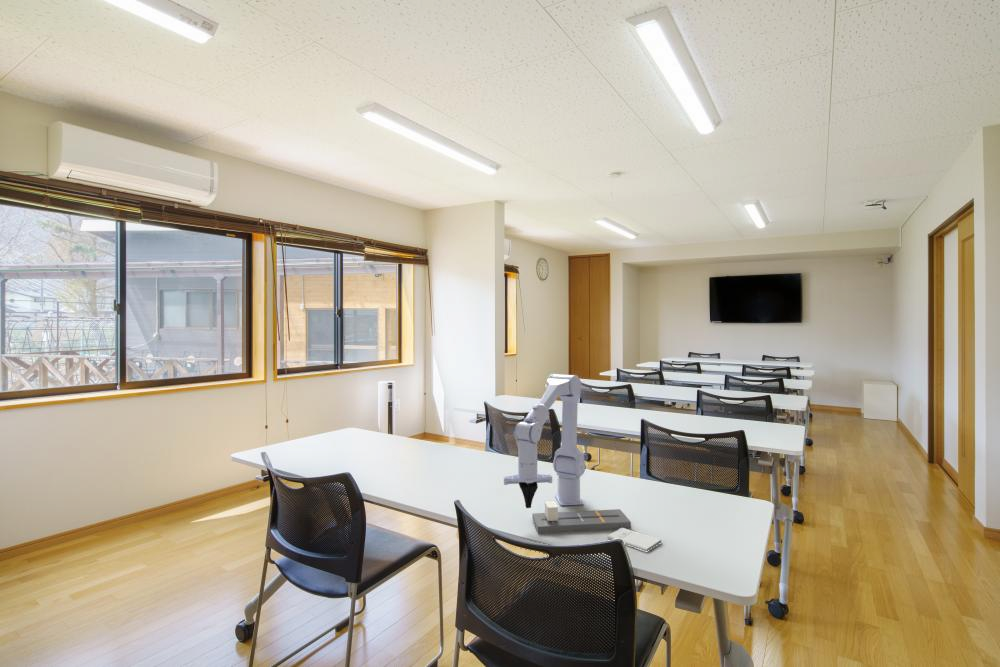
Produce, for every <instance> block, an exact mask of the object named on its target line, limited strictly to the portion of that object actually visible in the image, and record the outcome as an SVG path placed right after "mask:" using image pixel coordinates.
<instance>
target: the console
mask: <svg viewBox="0 0 1000 667" xmlns="http://www.w3.org/2000/svg"><path fill="white" fill-rule="evenodd" d="M532 519H533V520H532ZM532 519H531V520H532V522H533V521H534V522H533V525H534V524H535V525H534V527H535V529H537V530H536V532H538V533H537V534H549V533H548V532H556V533H569V532H568V531H574V532H590V531H591V530H592V531H607V530H606V529H612V530H619V528H631V527H632V522H631V520H630V519H629V518H628V517H627V516H626V515H625V512H623V511H622V510H621V509H620V508H617V509H598V510H597V509H596V510H594V509H593V510H580V511H579V510H578V511H577V510H576V511H575V510H574V511H573V510H572V511H562V512H561V511H560V512H559V511H558V521H548V520H547V518H546V516H545V512H538V513H537V512H535V513H532ZM631 529H632V528H631ZM546 532H547V533H546Z"/></svg>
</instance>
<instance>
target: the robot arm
mask: <svg viewBox="0 0 1000 667" xmlns="http://www.w3.org/2000/svg"><path fill="white" fill-rule="evenodd" d="M581 390H582V381H581V379H580V378H579V376H578V375H577V374H561V373H551V374H550V375H549V376H548V377H547V379H546V389H545V391H544V393H543V395H542V397H541V398H540V401H539V403H535V404H533V405H532V408H531V409H530V411H529V412H528V414H527V415H525V418H524V420H523V421H520V422H518V423H517V424H516V425H515V428H514V431H513V436H514V439H515V443H516V447H517V449H518V450H517V452H518V453H517V455H518V456H517V457H518V459H517V460H518V464H517V466H518V468H517V469H518V474H515V475H508V476H503V485H504V486H507V485H515V484H517V485H519V488H520V490H521V492H522V496H523V499H524V503H525V507H526V509H531V508H532V503H533V499H534V496H535V495H536V492H537V490H538V487H539V486H538V484H539V483H541V484H542V483H544V484H546V483H548V484H553V475H552V474H543V473H542V474H540V473H539V474H538V443H539V440H540V439H541V437H542V432H543V429H544V428H543V426H544V424H545V423H546V422H547V420H548V418H549V416H550V411H549V410H550V408H552V406H553V404H554V403H555V402H556V400H557V399H558V398H559V399H560V400H561V402H562V408H561V413H562V414H561V415H562V416H561V447H559V448H557V450H556V451H555V452H554V458H553V461H552V467H553V470H554V472H555V473H556V476H558V477H557V494H555V495H554V497H555V498H556V501H557V502H558V504H559V506H579V505H582V506H583V505H584V504H585V503H584V502H583V500H582V499H581V477H582V476H583V475H584V473H585V471H586V462H585V453H584V452H582V451H581V449H580V448H579V447H578V446H577V445H578V444H577V438H578V408H579V407H578V406H579V405H578V403H579V402H578V401H579V399H581V396H582V395H581V394H582V393H581V392H582V391H581Z"/></svg>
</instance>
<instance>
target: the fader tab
mask: <svg viewBox="0 0 1000 667" xmlns="http://www.w3.org/2000/svg"><path fill="white" fill-rule="evenodd" d="M558 512H559V507H558V505H557V503H556V502H555V501H554V500H553V501H544V513H545V516H546V518H547V520H548V521H558Z"/></svg>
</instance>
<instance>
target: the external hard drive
mask: <svg viewBox="0 0 1000 667" xmlns="http://www.w3.org/2000/svg"><path fill="white" fill-rule="evenodd" d="M606 537H607V538H606V540H610V539H614V538H620V539H623V540H624V542H625V545H624V546H627V545H630V546H633V547H636V548H639V549H642V550H644V551H648V550H650V549H651V548H653V547H654V546H656V545H658V544H659V543H661V542H662V539H660V538H658V537H657V538H656V537H654V536H651V535H648V534H647V535H646V534H645V533H641V532H637V531H634V530H631V529H625V528H620V529H616V530H615V531H613V532H611V533H610V534H608V535H607V536H606ZM610 541H611V540H610ZM661 544H662V543H661ZM659 545H660V544H659ZM659 545H658V546H659ZM627 547H628V546H627ZM656 547H657V546H656ZM653 549H654V548H653ZM650 551H651V550H650Z"/></svg>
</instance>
